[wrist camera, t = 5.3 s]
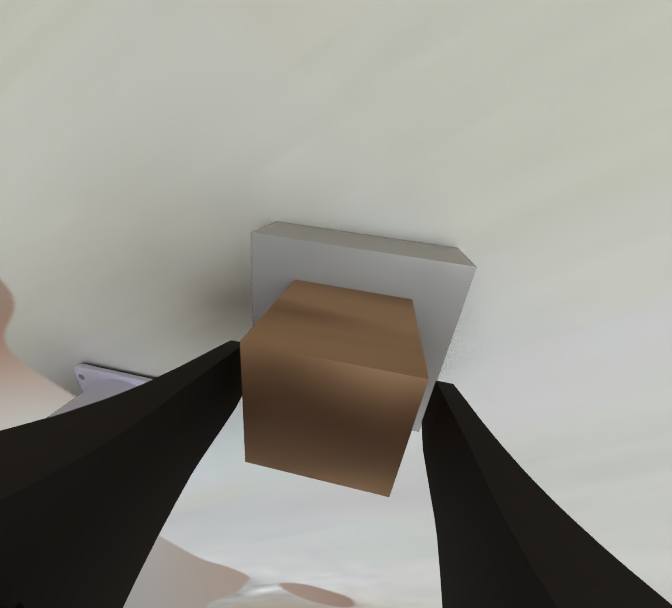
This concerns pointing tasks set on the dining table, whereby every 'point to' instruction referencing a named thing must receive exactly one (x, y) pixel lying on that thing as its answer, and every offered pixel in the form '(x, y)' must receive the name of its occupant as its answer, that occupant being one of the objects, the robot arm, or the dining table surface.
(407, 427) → the block
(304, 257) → the base
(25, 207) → the dining table surface
